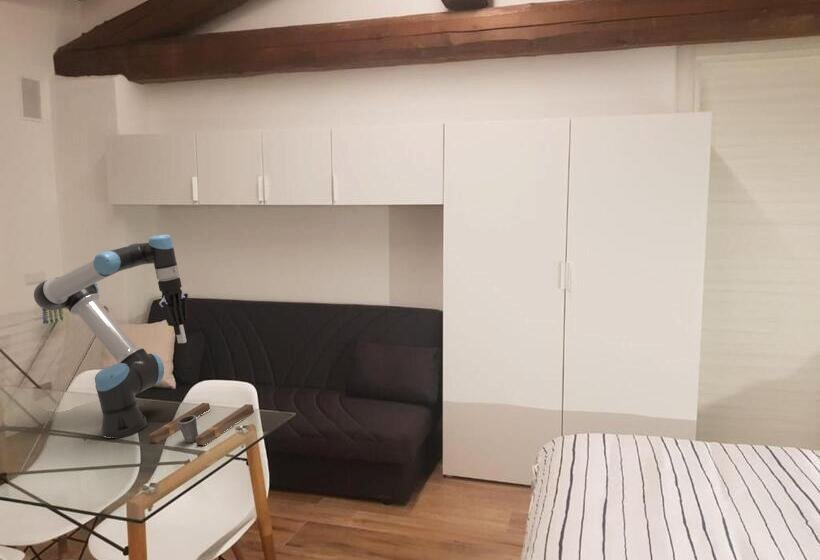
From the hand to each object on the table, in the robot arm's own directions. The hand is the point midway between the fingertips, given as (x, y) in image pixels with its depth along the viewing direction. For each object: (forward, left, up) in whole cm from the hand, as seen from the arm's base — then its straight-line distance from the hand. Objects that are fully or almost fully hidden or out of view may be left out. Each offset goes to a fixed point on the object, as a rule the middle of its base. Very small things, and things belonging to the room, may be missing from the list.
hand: (182, 342), depth 239 cm
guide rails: (+10, -9, -28) cm, 31 cm away
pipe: (+12, -17, -29) cm, 35 cm away
